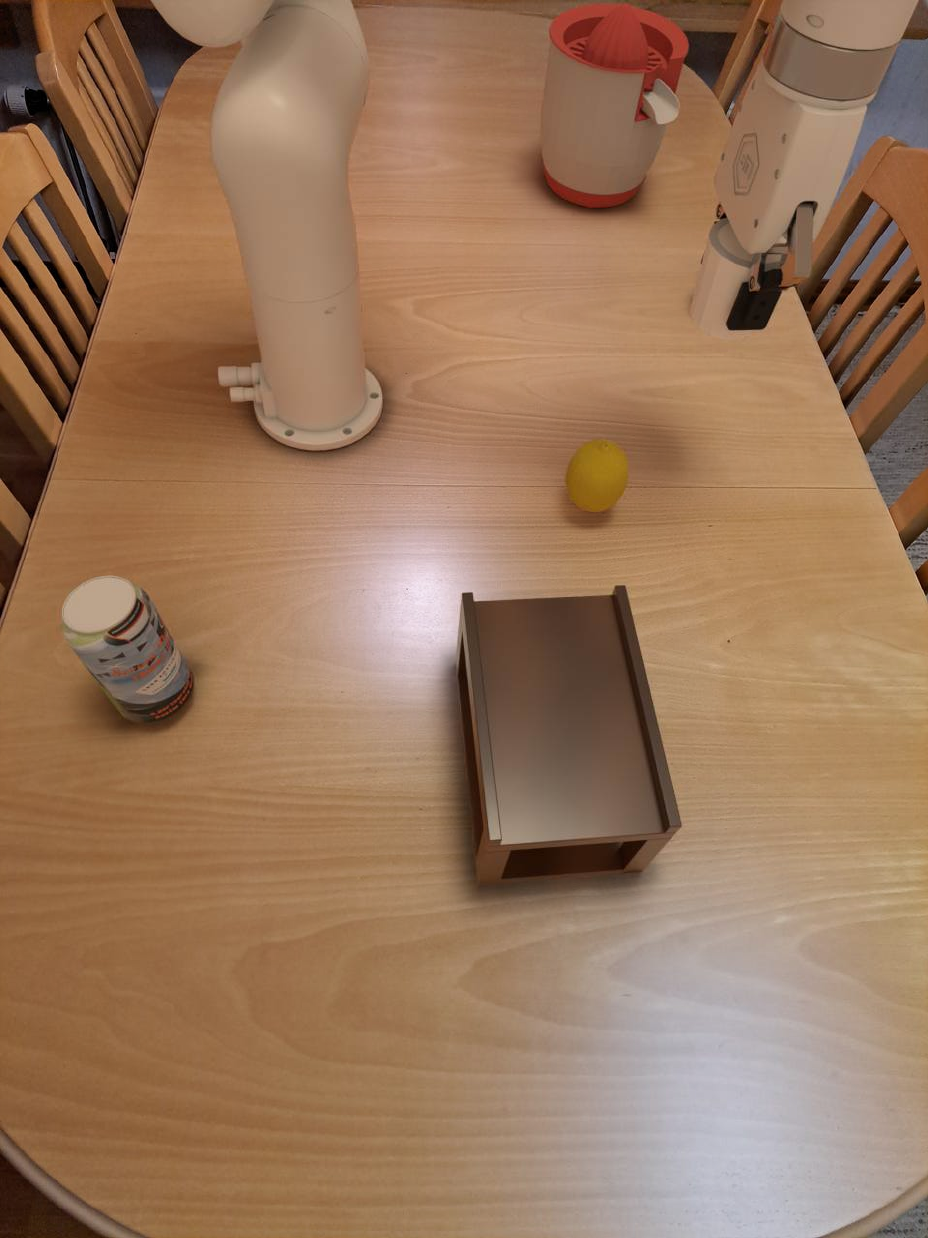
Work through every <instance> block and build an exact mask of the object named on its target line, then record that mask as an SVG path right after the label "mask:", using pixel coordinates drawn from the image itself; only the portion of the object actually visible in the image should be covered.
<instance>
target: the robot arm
mask: <svg viewBox="0 0 928 1238" xmlns="http://www.w3.org/2000/svg"><path fill="white" fill-rule="evenodd" d="M919 1H920V0H782V2H781V4H780V8H779V11H778V14H777V17H776V19H775V23H774V25H773V28H772V31H771V35H770V36H769V39H768V43H767V45H766V49H765V52H764V55H763V57H762V58H761V60H760V62H759V63H758V66H757V68H756V70H755V72H754V74H753V76H752V78H751V80H750V83H749V85H748V87H747V89H746V91H745V94H744V96H743V98H742V101H741V103H740V106H739V108H738V110H737V113H736V115H735V118H734V120H733V124H732V126H731V129H730V131H729V134H728V137H727V139H726V142H725V144H724V147H723V150H722V153H721V155H720V158H719V161H718V164H717V167H716V170H715V173H714V177H713V185H714V190H715V193H716V195H717V198H718V200H719V201H718V203H717V205H716V208H715V217H716V220H717V221H716V220H715V221H714V223H713V225H714V224H715V223H717V222H718V221H720V220H721V219H723V218H728V220H729V222H730V224H731V226H732V228H733V230H734V232H735V235H736V236H737V238H738V240H739V242H740V244H741V245H742V247H743V248H744V249H745V250H746V251H747V252H748V253H750V254H753V259H752V265H751V270H750V276H749V282H742V284H741V287H740V289H739V292H738V294H737V297H736V299H735V302H734V304H733V307H732V309H731V312H730V314H729V317H728V319H727V322H726V325H727V328H728V330H755V331H762V330H764V329H765V328H767V327H768V324H769V321H770V319H771V317H772V315H773V313H774V311H775V308H776V306H777V304H778V302H779V301H780V298H781V296H782V293H783V292H787V291H788V290H789V289H790V288H794V287H796V285H797V284H799V283H802V282H803V281H806V280H808V279H809V278H810V277H811V275H812V270H813V244H814V243H815V241H816V239H817V237H818V236H819V234H820V232H821V230H822V228H823V226H824V225H825V222H826V220H827V218H828V215H829V214H830V211H831V209H832V207H833V204H834V202H835V200H836V197H837V195H838V192H839V189H840V187H841V185H842V182H843V180H844V177H845V174H846V172H847V169H848V167H849V164H850V162H851V159H852V156H853V154H854V151H855V148H856V145H857V143H858V142H857V141H858V139H859V136H860V133H861V130H862V127H863V124H864V120H865V117H866V113H867V110H868V105H867V104H869V103H871V102H872V101H873V100H874V99H875V97H876V95H877V92H878V90H879V88H880V86H881V83H882V82H883V80H884V77H885V75H886V73H887V70H888V69H889V66H890V64H891V62H892V60H893V58H894V56H895V53H896V51H897V49H898V47H899V44H900V43H901V40H902V37H903V36H904V34H905V32H906V29H907V28H908V25H909V24H910V23H909V22H910V20H911V19H912V16H913V14H914V12H915V10H916V8H917V5H918V3H919ZM150 2H151V3H152V5H153V6H154V8H155V9H156V11H158V13H159V14H160V16H161V17H162V18H163V20H164V21H165V22H166V23H167V25H169V27H171V28H172V29H173V30H174V31H175V32H176V33H177V34H179V36H181V37H182V38H184V39H185V40H187V41H190V42H192V43H194V44H195V45H198V46H201V47H206V48H212V49H218V48H225V47H228V46H231V45H234V44H236V43H239V42H240V45H241V49H240V50H239V51H238V53H237V54H236V56H235V57H234V60H233V62H232V64H231V66H230V68H229V69H228V71H227V72H226V75H225V77H224V78H223V80H222V83H221V85H220V87H219V90H218V93H217V96H216V98H215V101H214V105H213V109H212V113H211V117H210V126H209V145H210V146H209V147H210V154H211V155H210V156H211V160H212V164H213V167H214V171H215V173H216V177H217V180H218V182H219V185H220V187H221V191H222V193H223V196H224V198H225V201H226V205H227V207H228V209H229V212H230V216H231V221H232V223H233V227H234V230H235V235H236V239H237V244H238V248H239V255H240V259H241V265H242V269H243V273H244V276H245V281H246V285H247V286H246V287H247V292H248V297H249V298H248V299H249V303H250V307H251V313H252V317H253V323H254V329H255V333H256V339H257V343H258V350H259V354H260V362H259V361H258V362H251V366H238V365H222V366H221V365H220V366H218V367H217V368H218V369H217V376H218V384H219V387H220V388H226V387H227V388H228V387H229V397H230V401H231V403H239V402H240V403H241V402H242V403H243V402H244V403H245V402H252V401H253V407H254V413H255V416H256V420H257V422H258V424H259V425H260V427H261V429H262V430H264V432H266V434H267V435H268V436H270V438H272V439H274V440H275V441H277V442H278V443H281V444H283V445H285V446H288V447H291V448H294V449H298V450H305V451H328V450H334V449H335V450H336V449H340V448H343V447H346V446H348V445H351V444H353V443H355V442H357V441H359V440H361V439H362V438H363V437H365V436H366V435H367V434H369V433H370V432H371V431H372V429H373V428H374V427H375V426H376V425H377V424H378V422H379V420H380V418H381V415H382V412H383V400H384V399H383V391H382V388H381V385H380V383H379V381H378V379H377V378H376V377H375V375H374V373H372V371H370V370H369V369H368V368H367V367H366V360H365V343H364V342H365V341H364V327H363V310H362V293H361V276H360V274H361V273H360V264H359V249H358V248H359V247H358V236H357V227H356V221H355V213H354V209H353V205H352V200H351V195H350V183H349V180H350V179H349V169H350V157H351V152H352V149H353V148H352V147H353V144H354V141H355V138H356V135H357V132H358V128H359V124H360V121H361V118H362V115H363V112H364V110H365V109H364V108H365V105H366V103H367V98H368V94H369V89H370V81H371V68H370V57H369V52H368V49H367V45H366V41H365V37H364V34H363V31H362V28H361V24H360V22H359V19H358V15H357V13H356V10H355V8H354V4H353V2H352V0H150ZM782 235H787V240H786V243H776V242H777V240H778V239H779V238H780V237H781V236H782ZM704 252H705V250H704ZM704 252H703V253H702V257H701V260H700V265H701V264H702V260H703V256H704ZM767 254H782V256H781V261H780V266H779V269H772V270H769V271H766V272H764V270H765V265H766V260H767ZM244 386H252V387H244Z"/></svg>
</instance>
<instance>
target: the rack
mask: <svg viewBox="0 0 928 1238" xmlns="http://www.w3.org/2000/svg"><path fill="white" fill-rule="evenodd" d="M454 664H455V673H456V683H457V693H458V704H459V715H460V724H461V731H462V732H461V734H462V744H463V745H462V746H463V754H464V764H465V773H466V775H465V776H466V785H467V794H468V806H469V815H470V825H471V834H472V835H471V836H472V845H473V855H474V863H475V865H474V866H475V874H476V884H477V886H483V885H493V884H507V883H518V882H530V881H543V880H554V879H555V880H557V879H568V878H580V877H582V878H583V877H592V876H593V877H594V876H605V875H616V874H617V875H618V874H619V875H620V874H631V873H632V874H633V873H642V872H643V871H644V870H645V869H646V868H647V867H648V866H649V865H650V864H651V862H652V861H653V860H654V859H655V858H656V857H657V856H658V855H659V853H660V852H661V851H662V850H663V849H664V848H665V846H667V844H668V843H669V842H670V841H671V840H672V839H673V837H675V835H676V833H678V831H679V830H680V829H681V828H682V827H683V824H682V820H681V816H680V811H679V806H678V803H677V798H676V795H675V790H674V786H673V782H672V778H671V772H670V769H669V765H668V760H667V756H666V751H665V748H664V742H663V739H662V735H661V731H660V726H659V722H658V717H657V714H656V710H655V706H654V705H655V704H654V700H653V696H652V692H651V689H650V688H651V687H650V684H649V679H648V675H647V672H646V666H645V662H644V659H643V654H642V650H641V646H640V642H639V638H638V633H637V628H636V625H635V621H634V616H633V611H632V607H631V603H630V598H629V595H628V591H627V586H626V584H621V585H620V584H618V585H616V584H615V585H614V587H613V590H612V593H611V594H600V595H599V594H597V595H578V596H557V597H555V596H554V597H537V598H515V599H493V600H475V599H474V593H473V591H469V592H461V598H460V610H459V620H458V632H457V641H456V652H455V662H454Z"/></svg>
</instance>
